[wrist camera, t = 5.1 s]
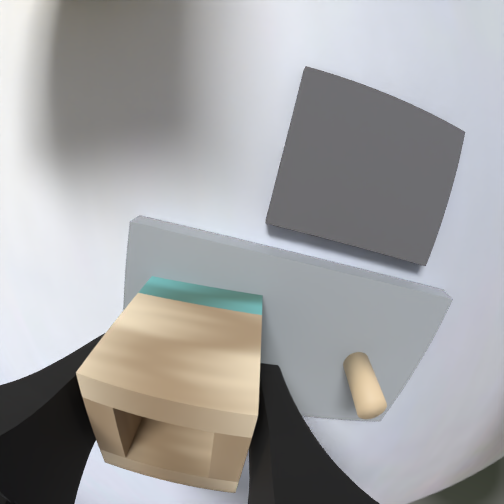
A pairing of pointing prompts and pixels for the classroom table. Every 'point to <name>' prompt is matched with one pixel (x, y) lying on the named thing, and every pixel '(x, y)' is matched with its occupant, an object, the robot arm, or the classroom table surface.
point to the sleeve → (178, 384)
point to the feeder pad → (364, 169)
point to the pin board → (305, 314)
